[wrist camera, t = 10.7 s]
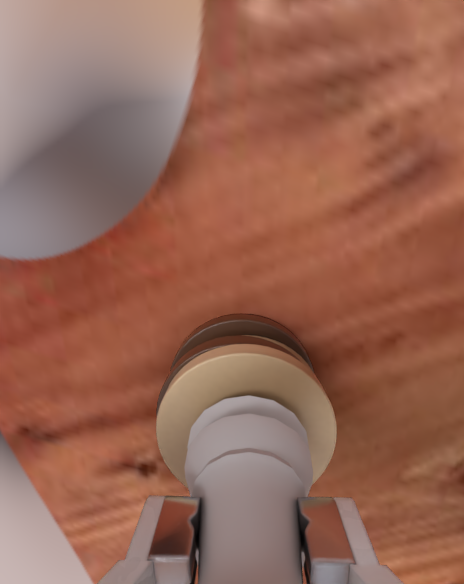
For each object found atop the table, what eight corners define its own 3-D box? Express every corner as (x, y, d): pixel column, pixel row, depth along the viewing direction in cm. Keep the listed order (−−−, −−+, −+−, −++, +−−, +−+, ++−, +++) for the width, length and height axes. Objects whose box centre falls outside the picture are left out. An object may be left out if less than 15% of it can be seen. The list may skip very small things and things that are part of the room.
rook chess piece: (276, 501, 12) (341, 1058, 4) (173, 462, 11) (24, 978, 4) (327, 414, 11) (555, 938, 3) (215, 369, 10) (131, 812, 3)
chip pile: (349, 361, 14) (384, 408, 11) (269, 469, 16) (277, 540, 12) (213, 287, 13) (202, 310, 10) (146, 408, 15) (116, 464, 12)
